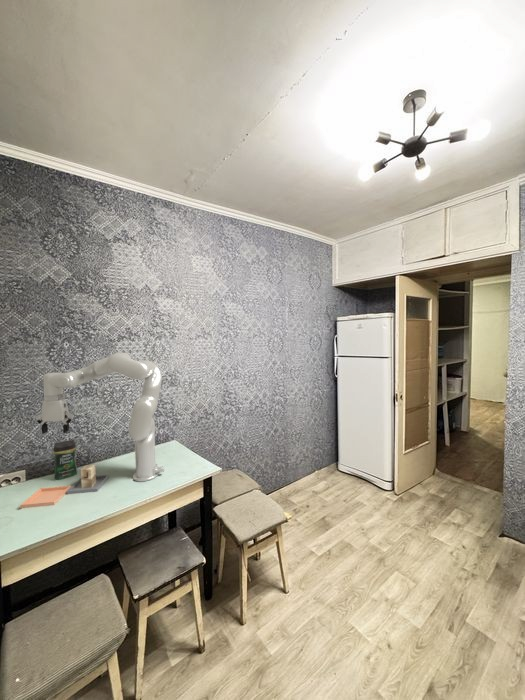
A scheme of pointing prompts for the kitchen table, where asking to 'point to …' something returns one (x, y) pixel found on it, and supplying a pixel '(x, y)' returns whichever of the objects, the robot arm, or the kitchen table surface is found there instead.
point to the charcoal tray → (78, 488)
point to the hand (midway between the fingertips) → (55, 432)
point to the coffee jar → (65, 459)
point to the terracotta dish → (45, 497)
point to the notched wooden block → (88, 476)
